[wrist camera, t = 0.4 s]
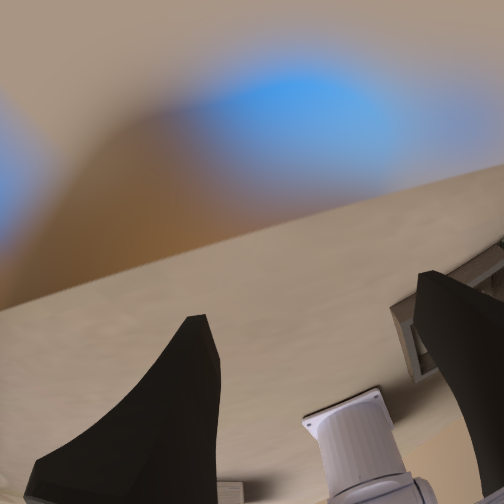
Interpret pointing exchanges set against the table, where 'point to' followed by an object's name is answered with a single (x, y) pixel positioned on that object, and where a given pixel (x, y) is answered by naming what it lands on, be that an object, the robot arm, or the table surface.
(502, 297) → the grey teal rectangular frame
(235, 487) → the light bulb box
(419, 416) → the table surface
